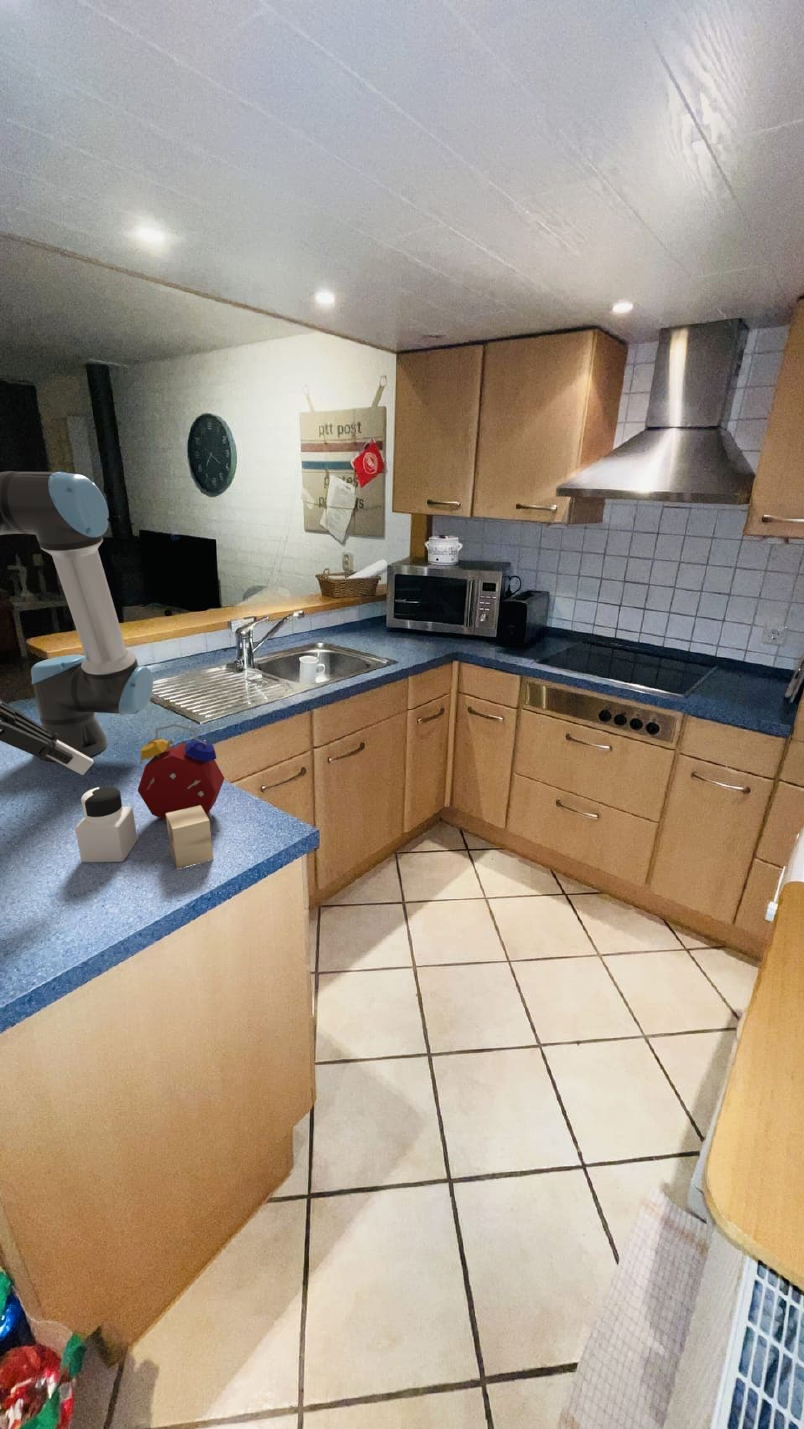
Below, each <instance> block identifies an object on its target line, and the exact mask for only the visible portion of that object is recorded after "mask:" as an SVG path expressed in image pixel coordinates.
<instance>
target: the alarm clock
mask: <svg viewBox="0 0 804 1429" xmlns="http://www.w3.org/2000/svg"><path fill="white" fill-rule="evenodd" d="M173 727H177V728H180V729H185V730H188V731H191V732H193V733H194V739H195V740H192V741H191V742H189V743H187V744H186V743H179V744H177V745H175V744H174V742H175V740H174V739H173V738H171V739H170V740H169V741H168V740H165V739H164V738H161V739H159V736H158V735H159V733H158V731H161V730H165V729H169V728H173ZM154 730H155V731H154V732H155V738H153V739H151V738H148V739H147V741H148V742H147V744H146V745H145V746H143V747H142V748H141V750H140V761H143V760H149V759H150V760H149V761H148V762H147V763H146V764H145V766H144V769H143V772H142V774H141V777H140V778H141V779H140V781H139V783H138V784H139V785H138V787H137V792H138V794H139V795H140V797H141V799H142V800H143V802H144V804H145V806H146V807H147V809H148V810H149V812H150V813H151V815H152V816H155V817H157V818H159V819H163V820H165V821H167V820H166V813H169V812H174V811H178V810H182V809H187V808H191V807H195V806H200V805H201V807H202V808H203V810H204V812H205V814H206V815H207V817H208V819H212V818H213V815H212V813H211V809H212V808H213V806H214V805H215V804H216V802H217V800H218V797H219V794H220V792H221V789H222V786H223V783H224V781H225V777H224V775H223V773H222V771H221V769H220V767H219V766H218V764H217V762H216V760H217V754H216V750H215V746H214V745H213V744H211V743H210V742H208V741H207V740H205V739H204V740H200V739H199V738H198V735H197V729H195V728H190V727H188V726H183V725H179V724H177V723H174V724H169V725H166V726H161V727H158V728H154ZM172 745H173V747H171V746H172Z"/></svg>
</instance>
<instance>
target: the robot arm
mask: <svg viewBox="0 0 804 1429" xmlns="http://www.w3.org/2000/svg"><path fill="white" fill-rule="evenodd" d="M109 516H110V515H109V509H108V506H107V502H106V500H105V497H104V495H103V494H102V492H101V490H100V488H98V486H97V485H96V484H95V482H93V481H91V480H90V479H89V478H88V477H87V476H85V475H82V474H79V473H68V472H64V471H16V470H15V471H13V470H12V471H9V470H8V471H1V472H0V536H3V535H13V534H17V535H18V534H25V535H35V536H36V540H37V542H38V544H39V548H40V549H41V550H43V551H44V552H46V553H48V554H49V555H50V556H52V559H53V560H52V561H53V564H54V565H55V569H56V572H57V575H58V578H59V581H60V584H61V587H62V590H63V593H64V596H65V598H66V602H67V606H68V608H69V610H70V614H71V617H72V620H73V623H74V625H75V626H74V627H75V629H76V632H77V634H78V635H77V636H78V639H79V641H80V643H81V647H82V650H83V652H84V655H85V656H84V655H82V654H69V655H68V654H67V655H59V656H56V657H51V658H48V659H45V660H42V661H39V662H37V663H35V664H34V665H33V666H32V667H31V669H30V676H31V685H32V688H33V693H34V697H35V702H36V706H37V711H38V717H39V722H40V724H39V723H38V722H36V721H34V720H33V719H32V718H30V717H28V716H27V715H26V714H23V713H22V712H21V711H19V710H17V709H15V708H14V707H12V706H10V704H8V703H7V702H5V701H4V700H2V699H1V698H0V742H3V743H5V744H7V745H9V746H12V747H14V748H16V749H17V750H18V749H19V750H20V751H23V752H25V753H27V754H30V755H32V756H35V757H37V758H39V760H40V761H44V760H45V761H48V762H56V763H59V764H61V765H63V766H65V767H66V768H68V769H70V770H72V771H74V772H76V773H78V774H80V775H82V776H84V775H85V773H86V772H87V771H88V770H89V769H90V768H91V767H92V765H93V764H94V762H95V761H94V759H93V758H91V757H92V756H95V755H97V754H99V753H102V752H103V751H104V750H105V749H107V747H108V744H109V743H108V738H107V735H106V733H105V731H104V729H103V727H102V726H101V724H100V723H99V721H98V719H97V716H96V713H100V714H115V715H117V714H119V715H121V716H125V715H137V714H141V712H143V711H144V710H146V708H147V706H148V705H149V703H150V700H151V698H152V694H153V691H154V678H153V677H154V676H153V673H152V670H151V669H150V668H149V667H147V666H145V665H143V664H142V665H139V663H138V658H137V655H136V654H135V652H133V651H132V650H129V649H127V647H126V643H125V640H124V636H123V633H122V629H121V626H120V622H119V619H118V615H117V612H116V608H115V605H114V601H113V598H112V595H111V590H110V587H109V584H108V581H107V577H106V573H105V569H104V567H103V563H102V560H101V556H100V553H99V547H100V546H101V545H102V543H103V542H104V538H103V535H104V534H105V533H106V532H107V530H108V527H109V520H108V519H109V518H110V517H109Z"/></svg>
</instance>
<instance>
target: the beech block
mask: <svg viewBox="0 0 804 1429" xmlns="http://www.w3.org/2000/svg"><path fill="white" fill-rule="evenodd" d="M165 821H166V828H167V834H168V842H169V850H170V854H171V855H172V856H173V857H172V859H173V861H174V863H175V866H176V868H178V869H179V870H181V869H180V868H182V869H185V868H184V867H186V866H190V865H193V864H197V865H199V864H198V863H200V864H203V863H202V862H204V863H206V862H205V861H207V862H209V861H208V860H211V859H213V860H214V854H213V843H212V835H211V834H212V833H211V824H210V823H211V822H210V818H208V817H207V815H206V814H205V812H204V810H203V808H202V807H201V805H200V806H195V807H191V808H187V809H182V810H178V811H174V812H169V813H166V820H165ZM211 861H212V860H211ZM193 866H194V865H193ZM190 867H191V866H190ZM186 868H187V867H186ZM178 869H177V870H178Z"/></svg>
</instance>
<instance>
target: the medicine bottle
mask: <svg viewBox="0 0 804 1429" xmlns="http://www.w3.org/2000/svg"><path fill="white" fill-rule="evenodd" d="M80 801H81V805H82V806H81V807H82V811H83V818H82V819H81V820H80V821H79V822H78V824H77V825H76V826H75V827H74V830H75V836H76V842H77V845H78V852H79V854H80V855H79V856H80V860H81V863H123V862H124V861H125V859H126V858H127V856H128V855H129V853H130V852H131V850H132V849H133V847H134V845H135V844H136V842H137V841H138V834H137V830H136V829H137V828H136V822H135V814H134V809H133V807H132V806H123V802H122V794H121V791H120V789H118V788H117V787H114V786H98V787H94V788H92V789H89V790H87V791H86V792H84V794H83V795H82V796H81V798H80Z"/></svg>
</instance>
